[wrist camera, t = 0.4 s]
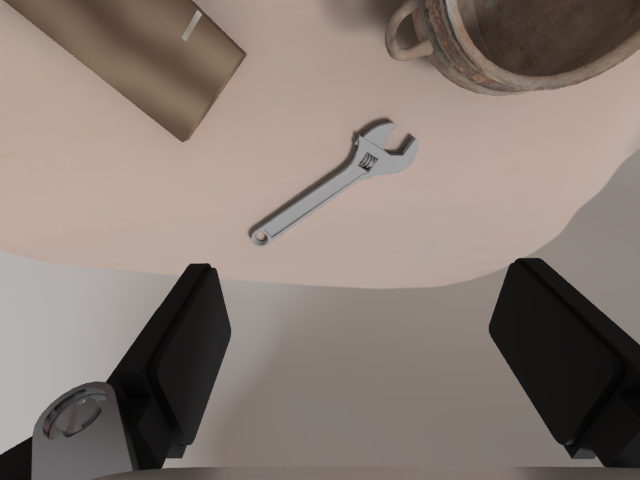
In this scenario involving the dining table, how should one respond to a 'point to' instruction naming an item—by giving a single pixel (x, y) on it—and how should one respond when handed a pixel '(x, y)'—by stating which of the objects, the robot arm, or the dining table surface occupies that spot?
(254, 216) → the dining table surface
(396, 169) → the adjustable wrench
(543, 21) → the cooking pot
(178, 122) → the board
